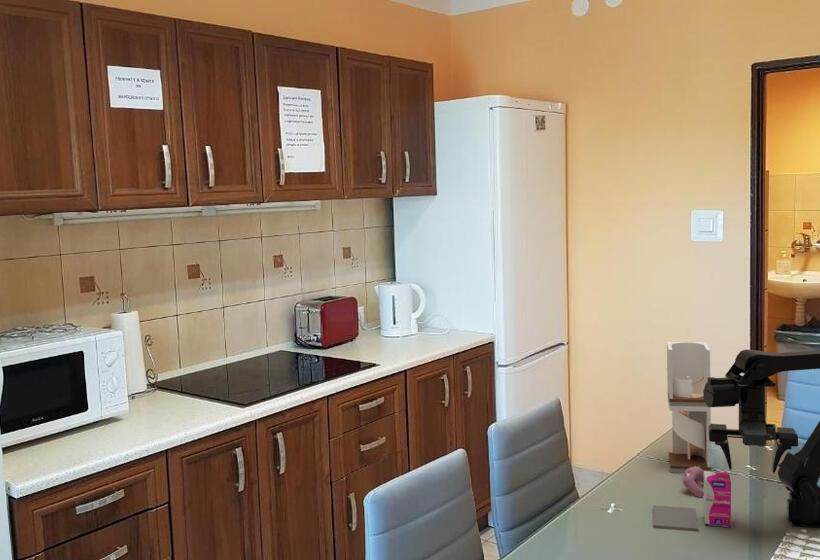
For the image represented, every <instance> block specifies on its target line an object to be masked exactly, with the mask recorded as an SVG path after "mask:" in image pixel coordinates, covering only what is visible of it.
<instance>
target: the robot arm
mask: <svg viewBox="0 0 820 560" xmlns="http://www.w3.org/2000/svg"><path fill="white" fill-rule="evenodd" d="M806 370H820V349H819V350H818V349H817V350H802V351H787V352H770V351H764V350H757V349H756V350H755V349H743V350H740V351H739V352H738V354H737V355H736V357H735V360H734V362H733V364H732V366H731V367H730V368H729V369H728V371H727V372H726V373H725V375H724V377H714V376H713V377H711V376H710V377H708V378H707V383H706V384H705V388H704V390H703V395H704V400H705V403H706V405H707V406H708V407H711V408H726V407H728V408H729V407H736V405H738V429H735V428H733V429H732V428H731V429H730V428H727V424H726V423H725V424H723V423H722V424H721V423H711V424H710V425H709V427H708V435H709V441H711V443H714V445H716V446H719V447H720V449H721V450H722V453H723V454H724V457H725V460H726V462H727V466H728V468H729V470H732V459H731V458H732V457H731V452H730V451H731V450H730V445H729V443H730V442H729V438H731V439H733V438H734V439H735V438H736V439H742V444H743V445H745V446H749V447H750V446H757V447H762V448H763V447H766V445H767V442H768V441H774V445H773V454H772V463H771V466H772V468H771V470H772V473H773V474H775V473H776V471H777V475H778V479H779V481H780V482H781V483H782V484H783V485H784V486H785V489H786V490H787V491H788V492H789V493H788V498H787V499H786V516H787V519H788V520H789V521H790V524H791V526H795V527H808V528H809V527H810V528H820V486H819V485H818V482H819V480H820V420H819V421H818V423H817V424H816V426H815V427H814V428H813V430H812V432H811V434H810V435H809V437H808V438H807V439H806V442H804V445H803V446H802V447H801V449H800V450H799V451H798V452H796V453H794V454H793V453H791V452H789V451H788V450H792V449H793V448H792V447H794V448H795V447H799V435H798V433H797V431H796V430H795V429H794V428H793V427H778V426H777V427H776V424H775V423H767V422H766V421H767V419H766V417H767V416H766V412H767V411H766V409H767V408H766V406H767V405H766V404H767V402H766V401H767V400H766V399H767V397H766V396H767V393H766V391H767V388H768V387H769V388H771V387H775V386H777V385H776V383H775V382H773V381H772V380H771V379H770V377H774V376H775V375H777V374H779V373H783V372H792V371H806ZM741 374H743V375H741ZM786 451H788V452H787V453H785V452H786ZM784 453H785V456H784V458H783V460H781V459H782V456H783V455H784ZM780 461H781V462H780ZM778 467H779V469H778V470H777V468H778Z"/></svg>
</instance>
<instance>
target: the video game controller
mask: <svg viewBox="0 0 820 560" xmlns="http://www.w3.org/2000/svg"><path fill="white" fill-rule="evenodd" d="M681 481H682V483H683V485H684V487H685V488H687V489H688V491H690V492H691V493H692V494H693V495H694V496H696V497H698V498H704V489H702V484H704V471H703V470H702V469H701V468H699V466H698V467H690V468H688V469H687V470H686V471H685V473H683V474H682V476H681Z"/></svg>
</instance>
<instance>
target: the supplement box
mask: <svg viewBox="0 0 820 560" xmlns="http://www.w3.org/2000/svg"><path fill="white" fill-rule="evenodd" d="M703 492H704V496H703V519H704V520H703V521H704V526H710V527H723V528H731V527H732V481H731V475H730V473H729V472H720V471H711V472H710V471H704V483H703Z"/></svg>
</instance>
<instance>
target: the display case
mask: <svg viewBox="0 0 820 560" xmlns="http://www.w3.org/2000/svg"><path fill="white" fill-rule="evenodd" d="M666 367H667V368H666V371H667V372H666V375H667V379H666V380H667V381H666V382H667V404H668V409H669V412H671V425H672V426H671V427H672V428H671V431H672V434H671V435H672V436H671V437H672V439H671V440H672V452H670V451H669V452H668V464H670V465H669V468H670V469H669V470H670V473H672V472H673V473H675V474H684V473H685V471H686V470H687V469H688V468H690V467H698V466H699V468H701V469H702V470H703V471H710V472H712V442H711V441H709V435H708V427H709V425H710V424H712V422H711V421H712V419H711V418H712V416H711V415H712V412H711V410H712V409H711V408H712V407H708V406H707V405H706V403H705V400H704V395H703V390H704V388H705V384H706V383H707V378H708V377H711V348H709V345H708V343H707V342H706V341H667V342H666Z"/></svg>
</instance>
